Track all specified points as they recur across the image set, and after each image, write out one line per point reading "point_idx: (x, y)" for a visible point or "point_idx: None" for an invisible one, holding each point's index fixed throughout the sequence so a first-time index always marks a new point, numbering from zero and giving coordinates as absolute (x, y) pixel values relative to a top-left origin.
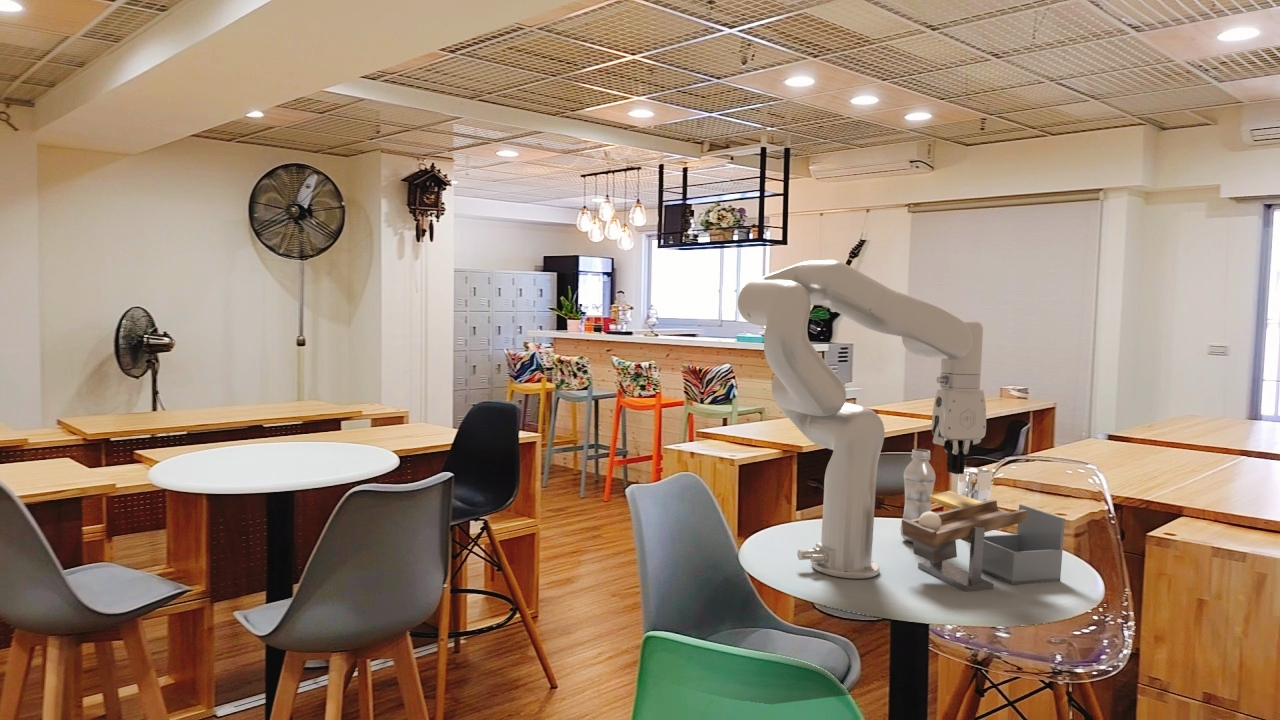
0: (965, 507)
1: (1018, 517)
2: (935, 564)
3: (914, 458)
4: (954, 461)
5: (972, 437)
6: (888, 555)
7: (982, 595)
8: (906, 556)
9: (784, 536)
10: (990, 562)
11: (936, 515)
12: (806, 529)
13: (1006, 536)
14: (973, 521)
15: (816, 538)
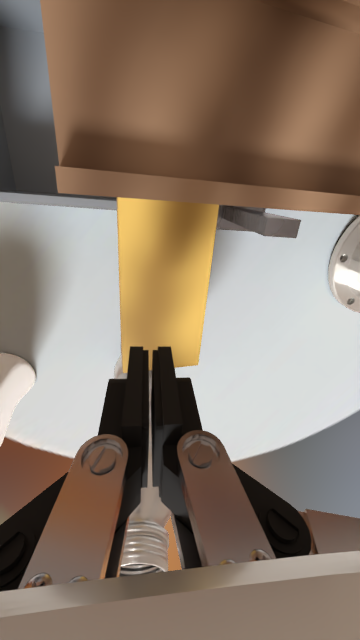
0: (211, 190)
1: None
2: (240, 207)
3: (167, 536)
4: (181, 404)
5: (24, 634)
6: (249, 307)
7: None
8: (222, 295)
9: (320, 411)
10: None
11: None
12: (265, 432)
13: (29, 194)
14: (236, 105)
15: (286, 398)
